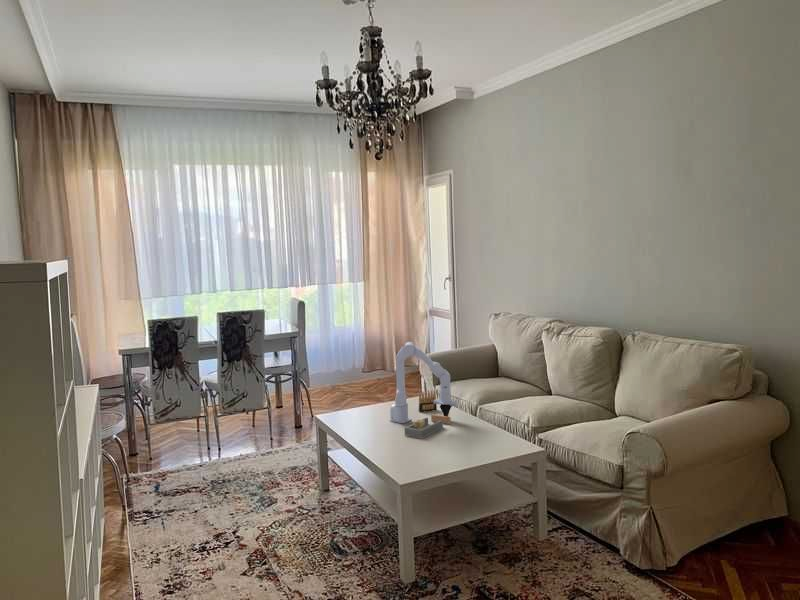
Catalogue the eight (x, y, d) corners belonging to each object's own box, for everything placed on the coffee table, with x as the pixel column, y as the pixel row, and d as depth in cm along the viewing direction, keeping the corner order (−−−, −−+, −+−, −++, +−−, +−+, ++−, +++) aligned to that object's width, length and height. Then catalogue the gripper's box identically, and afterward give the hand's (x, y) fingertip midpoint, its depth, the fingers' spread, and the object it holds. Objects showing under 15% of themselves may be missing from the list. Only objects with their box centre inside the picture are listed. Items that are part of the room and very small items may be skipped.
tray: (404, 435, 317) (404, 427, 317) (426, 424, 334) (426, 417, 334) (421, 438, 311) (421, 430, 311) (442, 427, 328) (442, 420, 328)
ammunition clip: (435, 409, 363) (435, 389, 362) (436, 410, 362) (436, 390, 360) (418, 411, 360) (418, 391, 359) (419, 412, 359) (419, 392, 358)
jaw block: (414, 432, 319) (413, 421, 318) (418, 430, 322) (418, 419, 321) (420, 434, 316) (420, 422, 316) (424, 431, 320) (424, 420, 319)
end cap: (431, 421, 339) (431, 414, 339) (432, 420, 340) (432, 414, 340) (449, 424, 333) (449, 417, 332) (450, 423, 334) (450, 417, 333)
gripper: (430, 393, 340) (431, 417, 342) (453, 396, 332) (454, 421, 334) (436, 391, 346) (437, 414, 347) (459, 393, 338) (460, 418, 340)
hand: (446, 417), depth 341 cm, fingers closed
